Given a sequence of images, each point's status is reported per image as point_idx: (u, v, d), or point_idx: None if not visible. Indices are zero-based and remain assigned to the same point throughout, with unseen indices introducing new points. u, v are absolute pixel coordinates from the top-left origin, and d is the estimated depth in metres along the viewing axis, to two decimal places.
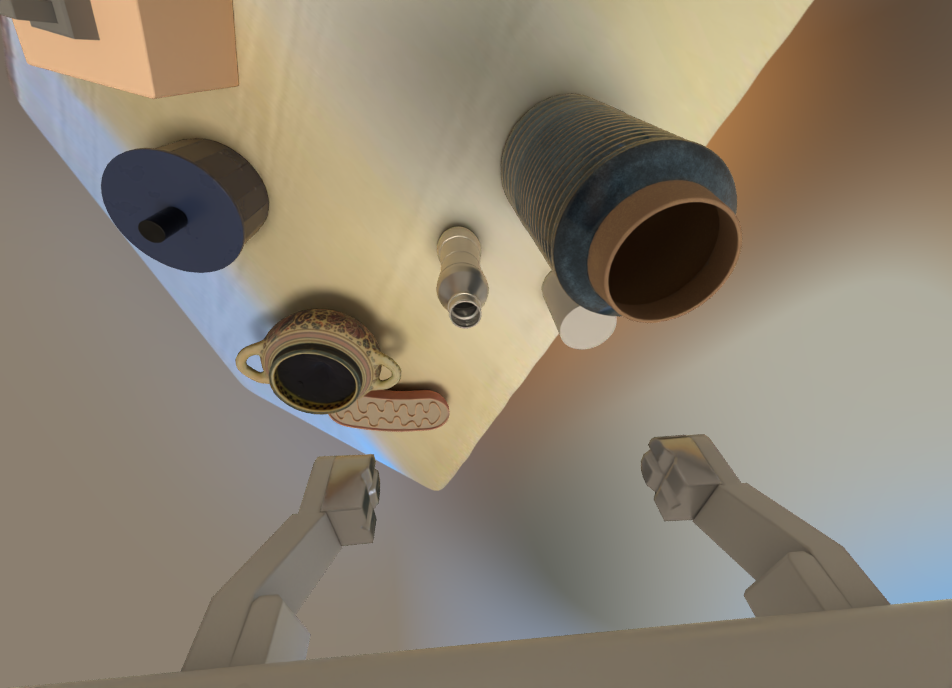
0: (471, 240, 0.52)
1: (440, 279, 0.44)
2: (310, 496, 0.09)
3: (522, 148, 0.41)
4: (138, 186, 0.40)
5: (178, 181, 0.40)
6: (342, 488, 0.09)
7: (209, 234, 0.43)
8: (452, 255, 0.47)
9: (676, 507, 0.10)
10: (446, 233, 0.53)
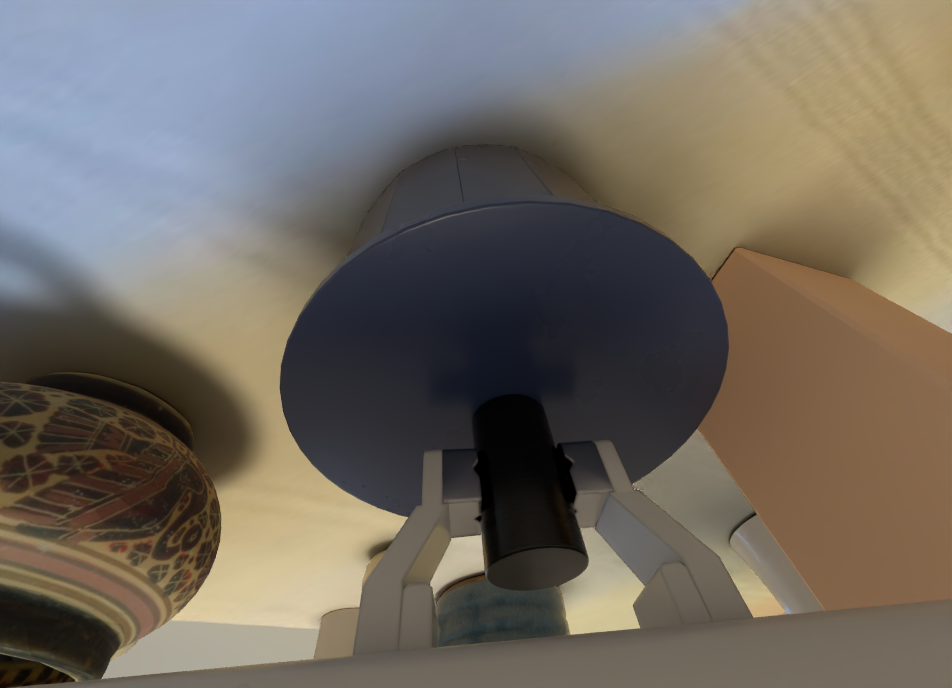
0: None
1: None
2: (429, 488, 0.09)
3: None
4: (625, 363, 0.11)
5: None
6: (458, 481, 0.09)
7: None
8: None
9: None
10: None
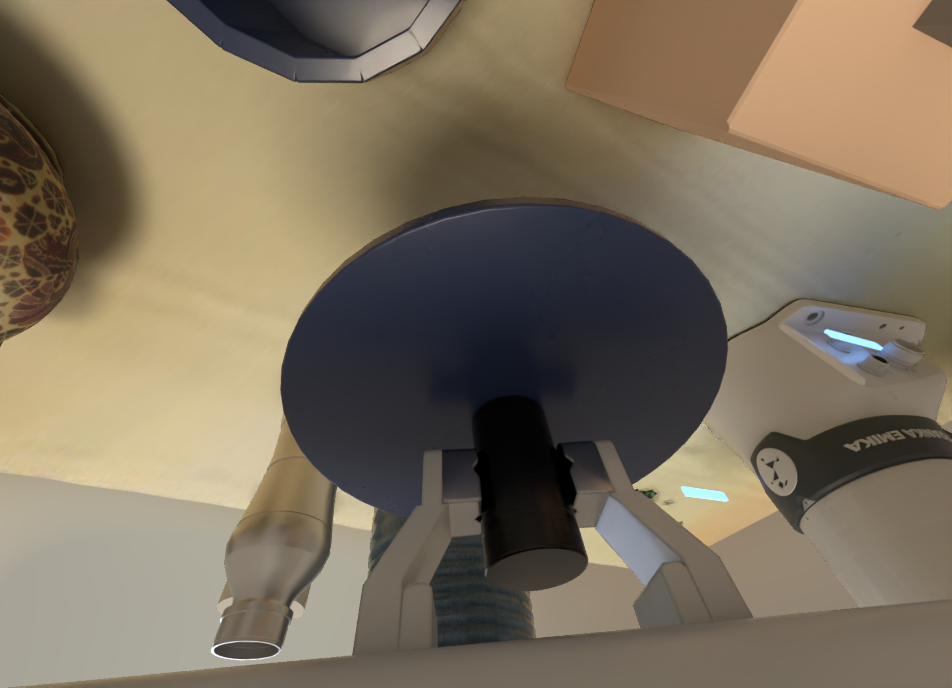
0: None
1: (293, 536, 0.23)
2: (429, 488, 0.09)
3: None
4: (624, 364, 0.11)
5: None
6: (458, 481, 0.09)
7: None
8: None
9: None
10: None
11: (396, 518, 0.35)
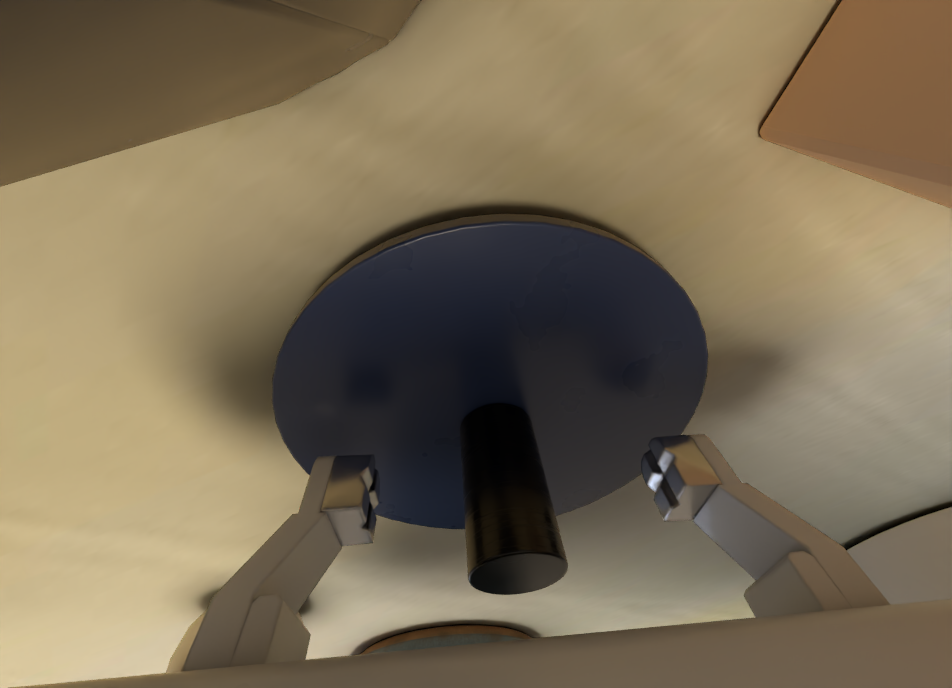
0: None
1: None
2: (310, 496, 0.09)
3: None
4: (606, 371, 0.11)
5: (595, 455, 0.14)
6: (342, 488, 0.09)
7: (438, 479, 0.14)
8: None
9: (676, 507, 0.10)
10: None
11: None
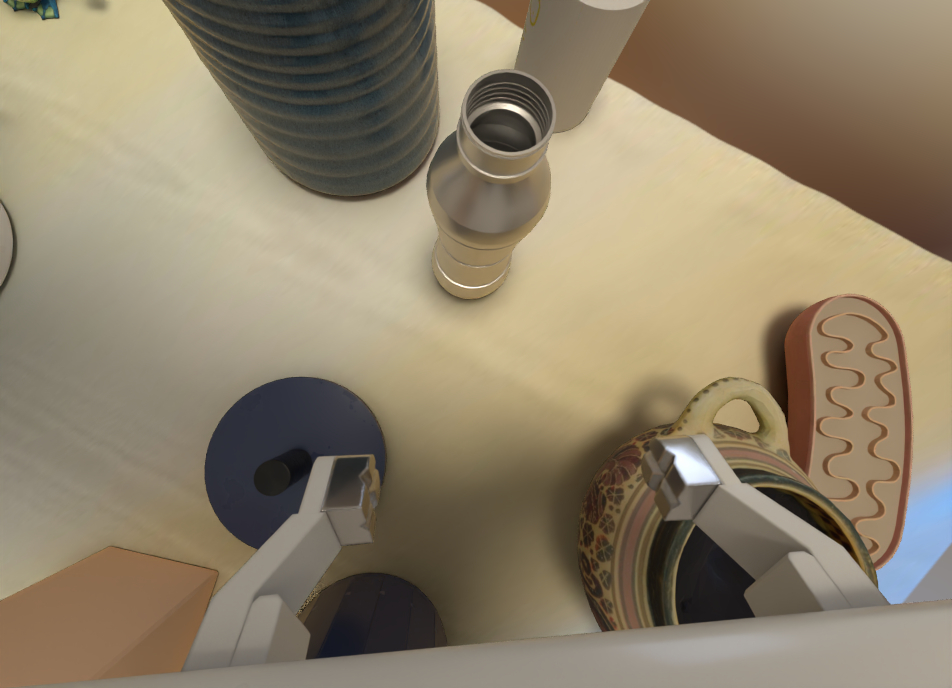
0: None
1: (455, 229, 0.19)
2: (310, 496, 0.09)
3: (256, 114, 0.24)
4: (251, 494, 0.29)
5: (248, 439, 0.30)
6: (342, 488, 0.09)
7: (324, 427, 0.30)
8: (440, 236, 0.24)
9: (676, 508, 0.10)
10: (437, 277, 0.30)
11: (384, 117, 0.25)
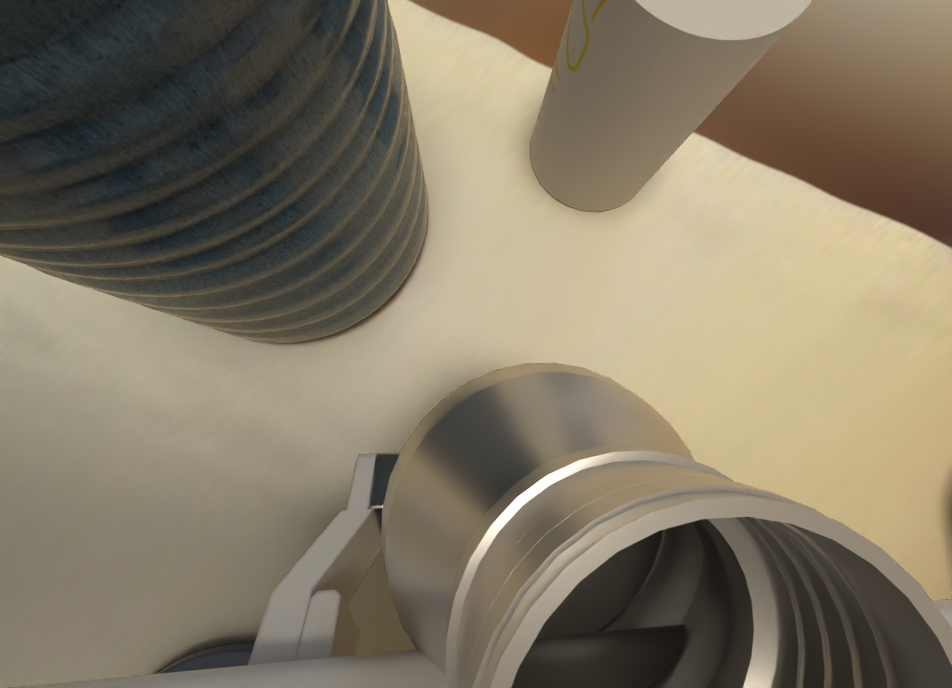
0: None
1: None
2: (356, 493, 0.09)
3: None
4: None
5: None
6: (387, 485, 0.09)
7: None
8: None
9: None
10: None
11: (321, 264, 0.14)
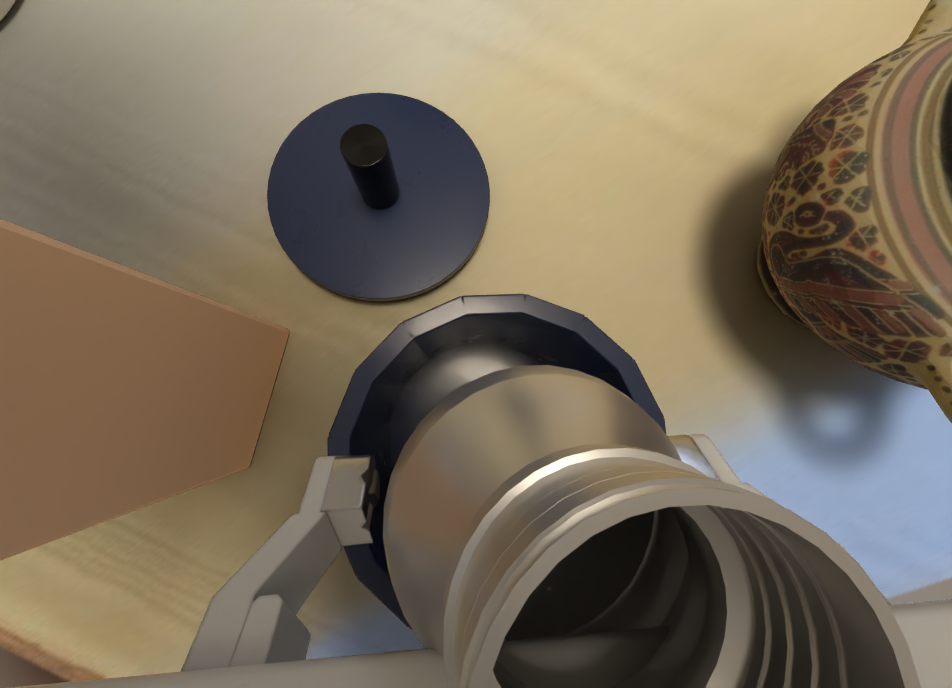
0: None
1: None
2: (310, 496, 0.09)
3: None
4: (326, 227, 0.23)
5: (318, 163, 0.23)
6: (342, 488, 0.09)
7: (411, 150, 0.24)
8: None
9: None
10: None
11: None
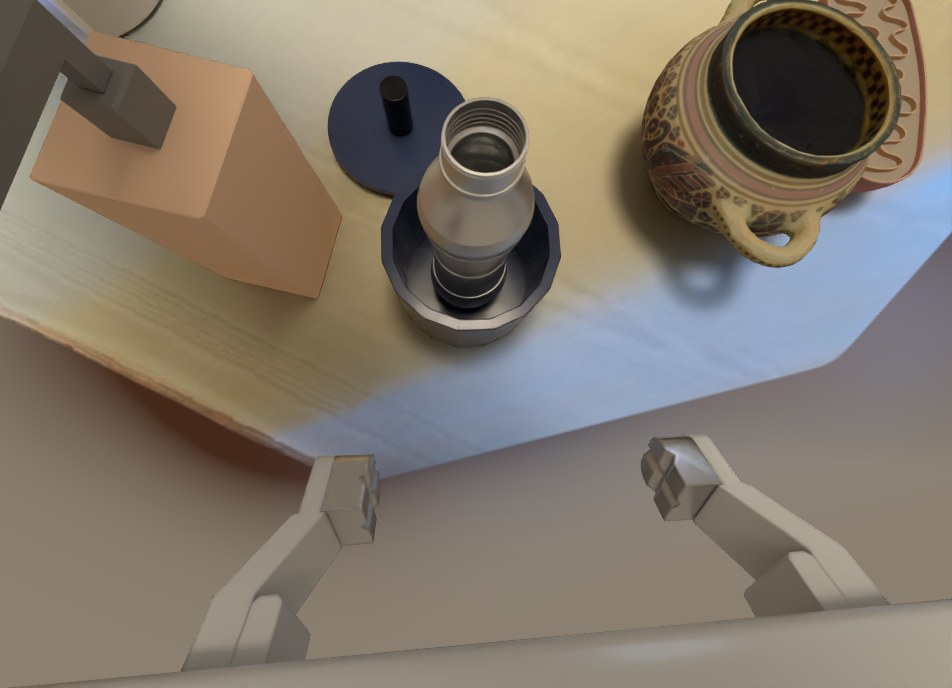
0: None
1: (446, 245, 0.20)
2: (310, 496, 0.09)
3: None
4: (366, 147, 0.36)
5: (360, 106, 0.36)
6: (342, 488, 0.09)
7: (421, 99, 0.37)
8: (435, 251, 0.25)
9: (676, 507, 0.10)
10: (437, 290, 0.32)
11: None
